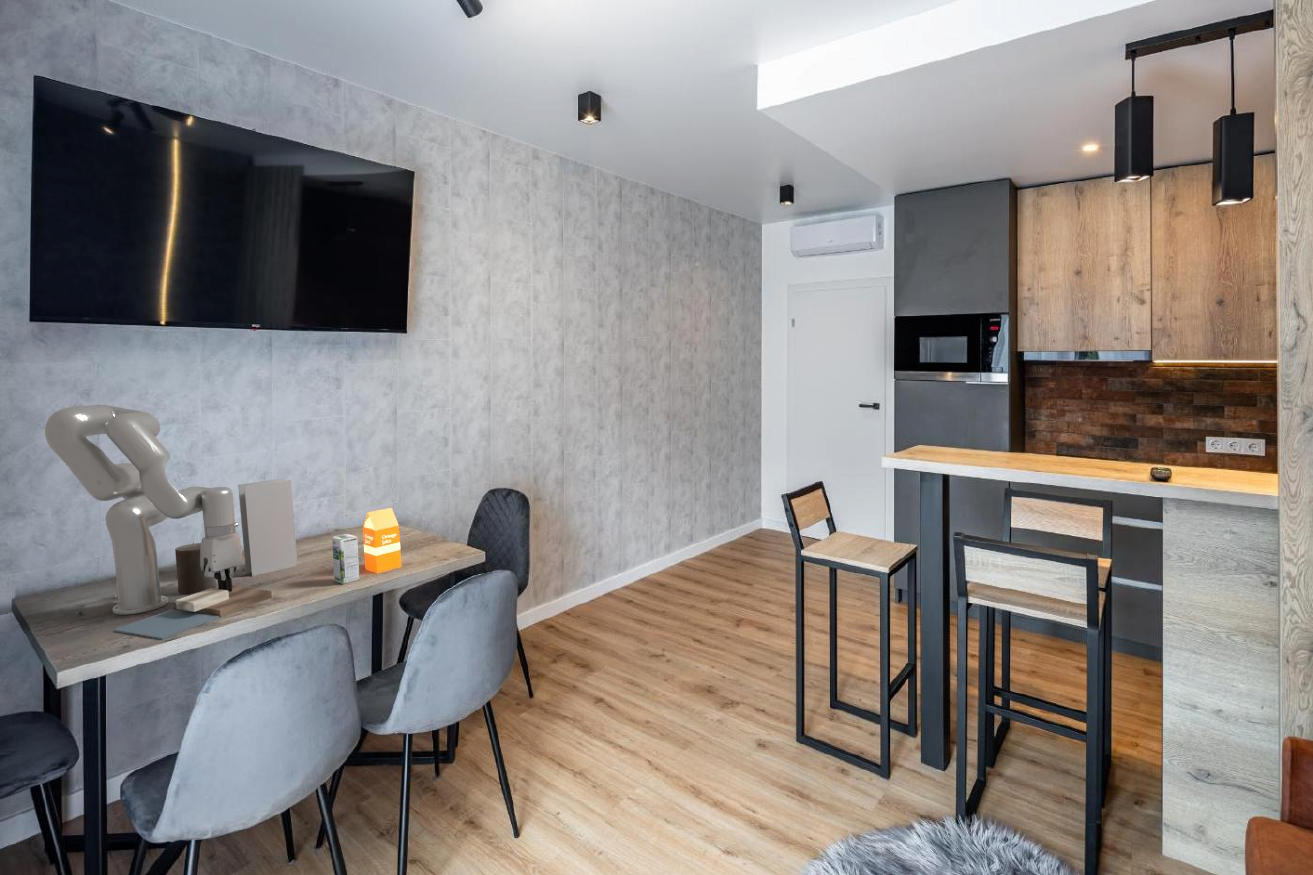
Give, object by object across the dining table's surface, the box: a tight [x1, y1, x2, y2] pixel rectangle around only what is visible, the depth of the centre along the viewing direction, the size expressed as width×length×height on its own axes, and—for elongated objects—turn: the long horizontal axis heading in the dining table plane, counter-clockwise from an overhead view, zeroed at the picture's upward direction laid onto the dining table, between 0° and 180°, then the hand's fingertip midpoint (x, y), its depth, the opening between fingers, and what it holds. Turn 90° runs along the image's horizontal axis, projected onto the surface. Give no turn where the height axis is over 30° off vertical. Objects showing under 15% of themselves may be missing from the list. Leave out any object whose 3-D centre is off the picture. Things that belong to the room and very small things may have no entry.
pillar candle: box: [174, 542, 217, 595], centre depth 203 cm, size 10×10×15 cm
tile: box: [175, 588, 229, 612], centre depth 185 cm, size 7×10×2 cm
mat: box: [113, 608, 220, 641], centre depth 176 cm, size 18×15×1 cm
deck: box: [173, 585, 273, 618], centre depth 191 cm, size 18×16×2 cm
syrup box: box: [331, 533, 360, 585], centre depth 209 cm, size 6×6×14 cm
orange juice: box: [362, 507, 402, 574], centre depth 221 cm, size 8×9×20 cm
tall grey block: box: [237, 478, 298, 577], centre depth 221 cm, size 14×6×30 cm, turn 141°
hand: (225, 591), depth 191 cm, fingers closed
